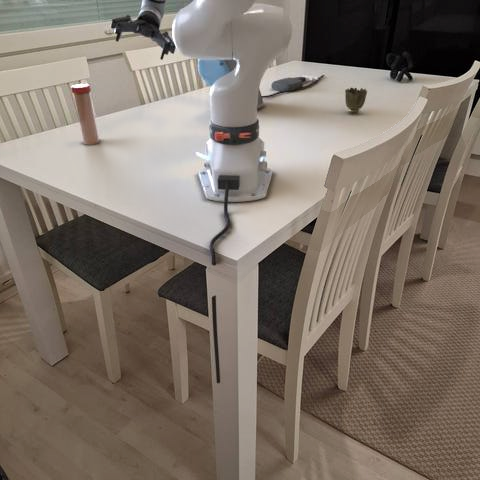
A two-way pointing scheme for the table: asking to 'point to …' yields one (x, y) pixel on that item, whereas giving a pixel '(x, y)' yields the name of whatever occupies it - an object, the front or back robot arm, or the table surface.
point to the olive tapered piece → (355, 99)
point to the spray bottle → (291, 83)
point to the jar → (86, 118)
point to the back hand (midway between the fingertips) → (140, 46)
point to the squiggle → (399, 66)
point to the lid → (80, 88)
